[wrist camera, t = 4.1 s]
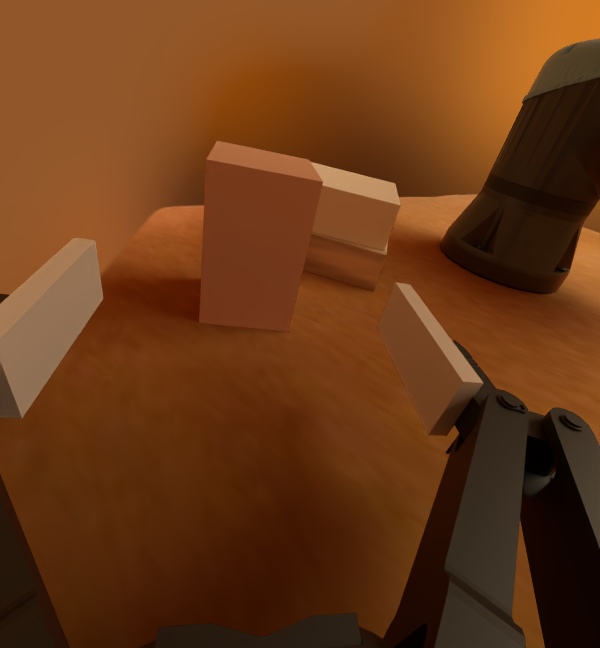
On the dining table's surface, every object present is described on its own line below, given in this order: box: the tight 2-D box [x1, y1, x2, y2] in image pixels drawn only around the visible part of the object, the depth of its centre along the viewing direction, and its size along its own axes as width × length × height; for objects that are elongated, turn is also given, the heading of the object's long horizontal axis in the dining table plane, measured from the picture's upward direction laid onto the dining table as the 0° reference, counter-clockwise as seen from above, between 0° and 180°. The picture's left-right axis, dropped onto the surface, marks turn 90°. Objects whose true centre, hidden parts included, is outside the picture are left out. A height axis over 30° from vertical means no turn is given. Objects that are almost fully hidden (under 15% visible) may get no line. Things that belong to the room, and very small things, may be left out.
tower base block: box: [303, 232, 388, 291], centre depth 36 cm, size 11×11×4 cm
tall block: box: [199, 141, 323, 332], centre depth 23 cm, size 6×6×10 cm
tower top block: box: [311, 162, 400, 250], centre depth 34 cm, size 10×10×4 cm
